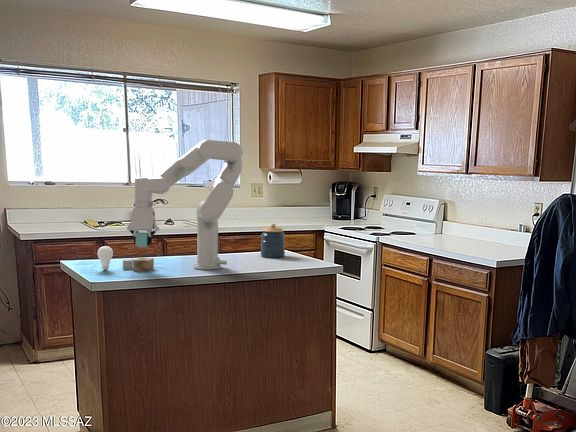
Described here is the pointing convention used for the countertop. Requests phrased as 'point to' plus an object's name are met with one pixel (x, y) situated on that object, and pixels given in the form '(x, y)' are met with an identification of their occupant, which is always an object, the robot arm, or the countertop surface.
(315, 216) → the countertop surface
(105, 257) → the light bulb
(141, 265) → the walnut block
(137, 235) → the teal cube
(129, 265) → the grey cube
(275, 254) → the canister
